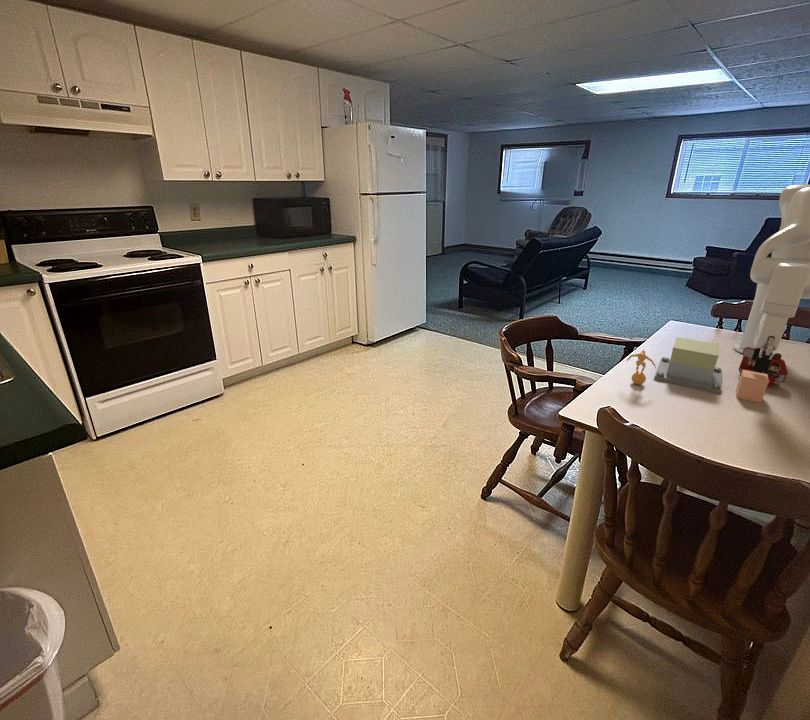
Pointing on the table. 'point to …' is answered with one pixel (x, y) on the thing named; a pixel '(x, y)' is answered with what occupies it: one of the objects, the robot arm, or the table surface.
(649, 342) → the table surface
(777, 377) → the toy fire truck
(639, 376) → the figurine
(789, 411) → the table surface
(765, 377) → the terracotta brick
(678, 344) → the grey yellow stepped block
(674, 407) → the table surface
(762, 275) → the robot arm
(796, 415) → the table surface
